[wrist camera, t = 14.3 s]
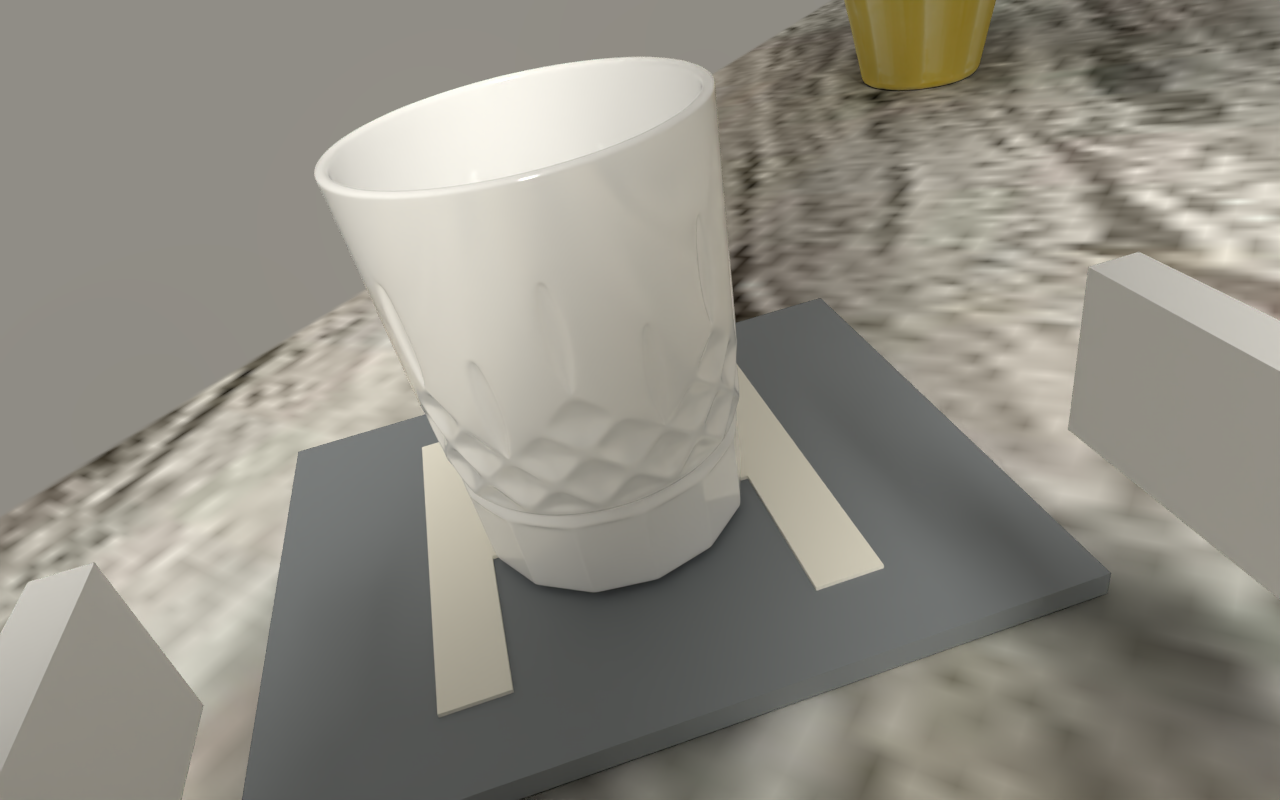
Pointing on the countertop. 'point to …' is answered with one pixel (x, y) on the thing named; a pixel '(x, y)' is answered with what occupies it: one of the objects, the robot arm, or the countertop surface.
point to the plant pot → (918, 40)
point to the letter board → (638, 591)
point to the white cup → (561, 305)
